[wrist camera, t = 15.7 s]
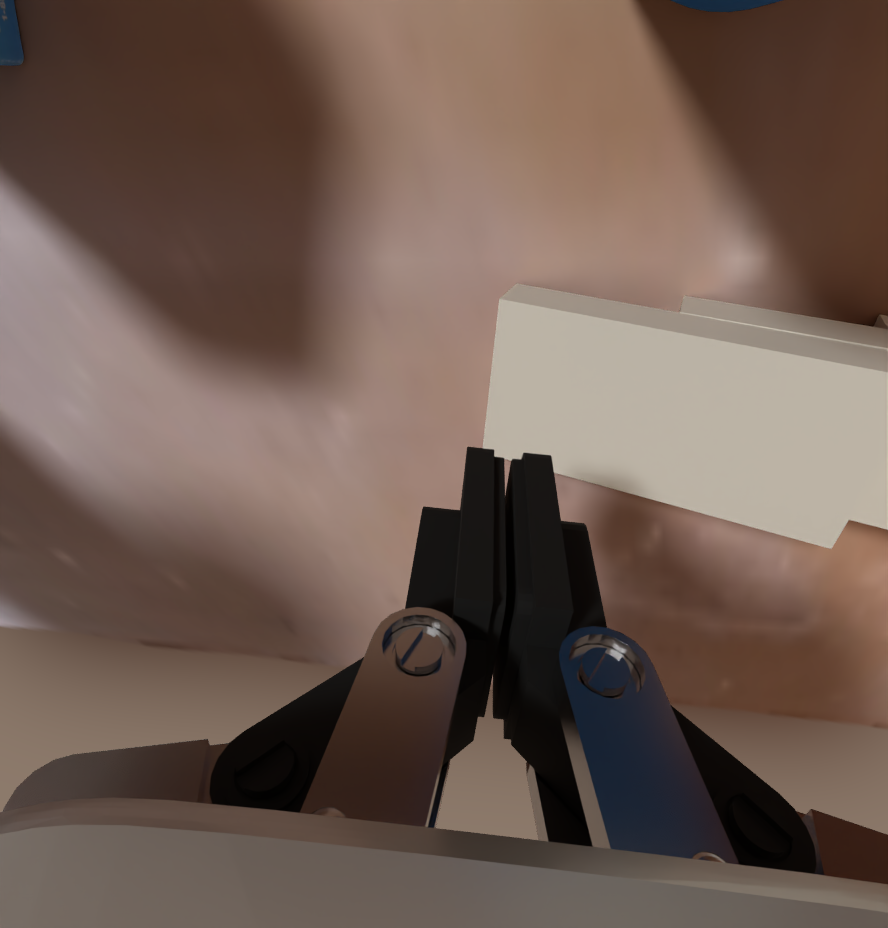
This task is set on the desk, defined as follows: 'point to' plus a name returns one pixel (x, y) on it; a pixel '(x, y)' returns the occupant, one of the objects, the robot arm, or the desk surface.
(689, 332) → the domino
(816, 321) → the domino
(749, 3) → the beverage can
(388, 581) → the desk surface
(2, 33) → the ink box
